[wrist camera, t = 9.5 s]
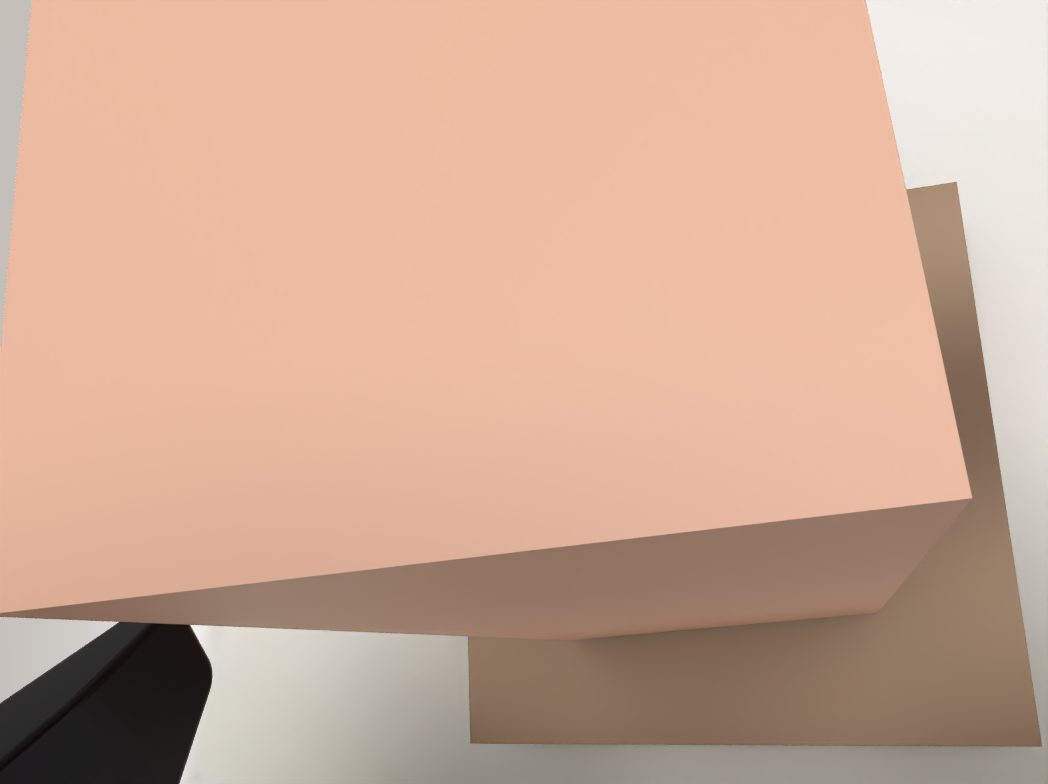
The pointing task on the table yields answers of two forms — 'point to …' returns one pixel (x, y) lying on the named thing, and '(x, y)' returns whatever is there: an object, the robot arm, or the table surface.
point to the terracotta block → (464, 319)
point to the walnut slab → (815, 620)
